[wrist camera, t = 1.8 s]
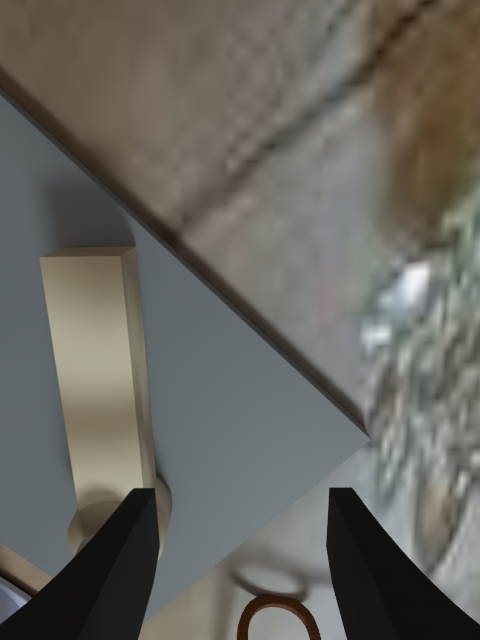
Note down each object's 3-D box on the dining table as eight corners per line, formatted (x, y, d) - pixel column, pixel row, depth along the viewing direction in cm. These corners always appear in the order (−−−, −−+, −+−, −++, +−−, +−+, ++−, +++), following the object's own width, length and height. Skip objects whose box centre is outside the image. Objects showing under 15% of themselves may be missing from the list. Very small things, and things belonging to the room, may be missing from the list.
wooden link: (175, 537, 23) (160, 609, 19) (91, 537, 23) (60, 608, 19) (153, 246, 18) (128, 263, 14) (48, 247, 18) (-4, 265, 15)
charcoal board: (136, 615, 26) (132, 632, 25) (-278, 328, 21) (-303, 335, 20) (365, 428, 22) (370, 439, 21) (-80, 12, 17) (-99, 2, 16)
